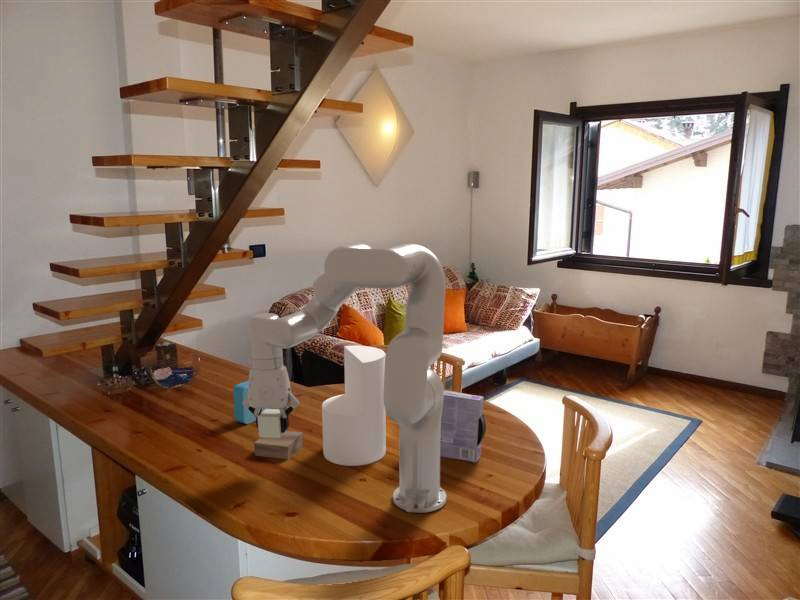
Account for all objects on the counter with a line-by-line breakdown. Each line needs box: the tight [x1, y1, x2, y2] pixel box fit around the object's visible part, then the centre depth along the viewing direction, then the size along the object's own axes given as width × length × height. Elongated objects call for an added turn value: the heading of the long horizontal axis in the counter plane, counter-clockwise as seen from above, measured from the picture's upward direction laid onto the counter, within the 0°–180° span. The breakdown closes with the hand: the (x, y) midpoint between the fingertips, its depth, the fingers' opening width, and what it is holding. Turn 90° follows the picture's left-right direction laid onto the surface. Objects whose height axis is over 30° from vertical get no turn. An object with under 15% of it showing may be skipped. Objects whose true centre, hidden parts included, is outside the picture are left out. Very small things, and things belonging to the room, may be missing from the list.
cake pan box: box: [440, 390, 487, 463], centre depth 164 cm, size 19×5×18 cm, turn 68°
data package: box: [233, 380, 270, 425], centre depth 191 cm, size 12×4×12 cm, turn 146°
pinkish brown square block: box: [253, 429, 304, 460], centre depth 169 cm, size 10×10×4 cm
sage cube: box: [257, 409, 284, 438], centre depth 156 cm, size 6×6×6 cm
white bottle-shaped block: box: [321, 345, 387, 467], centre depth 165 cm, size 17×17×28 cm
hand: (273, 429), depth 156 cm, fingers closed on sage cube, 5 cm apart
